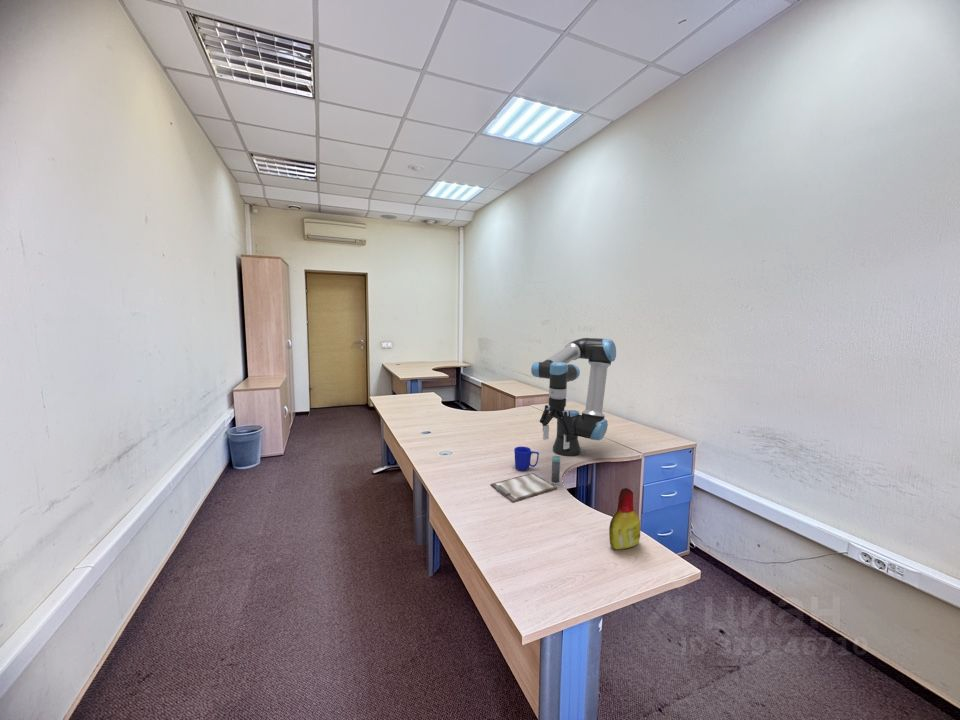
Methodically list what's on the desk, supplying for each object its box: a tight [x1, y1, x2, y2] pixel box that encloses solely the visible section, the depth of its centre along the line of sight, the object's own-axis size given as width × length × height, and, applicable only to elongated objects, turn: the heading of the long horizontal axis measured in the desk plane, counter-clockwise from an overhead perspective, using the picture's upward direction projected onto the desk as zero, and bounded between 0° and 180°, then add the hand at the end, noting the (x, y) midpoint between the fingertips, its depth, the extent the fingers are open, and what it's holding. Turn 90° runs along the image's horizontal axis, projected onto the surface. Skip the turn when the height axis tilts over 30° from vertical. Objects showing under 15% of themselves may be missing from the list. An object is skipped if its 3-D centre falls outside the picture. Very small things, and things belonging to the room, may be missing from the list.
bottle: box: [608, 487, 641, 550], centre depth 119 cm, size 12×6×20 cm, turn 111°
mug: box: [513, 446, 540, 472], centre depth 179 cm, size 8×12×10 cm
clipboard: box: [489, 472, 558, 504], centre depth 160 cm, size 24×17×2 cm
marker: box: [551, 455, 561, 486], centre depth 164 cm, size 4×4×12 cm
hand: (555, 443), depth 162 cm, fingers open, 13 cm apart
